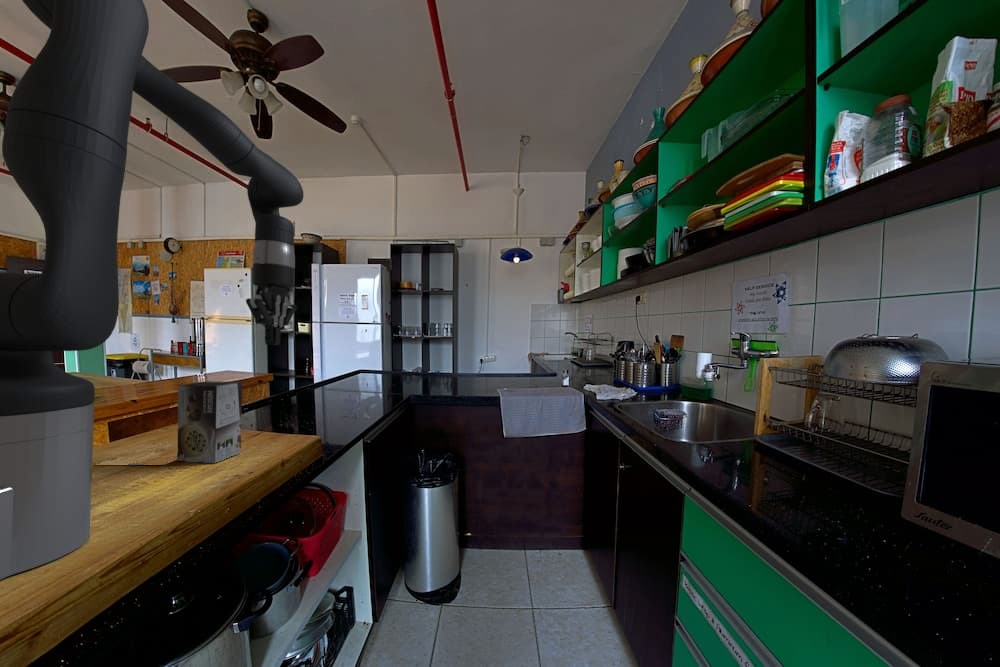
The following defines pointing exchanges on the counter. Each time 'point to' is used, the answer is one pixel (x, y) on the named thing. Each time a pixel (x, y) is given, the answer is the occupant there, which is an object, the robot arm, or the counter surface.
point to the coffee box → (209, 421)
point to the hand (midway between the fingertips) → (272, 344)
